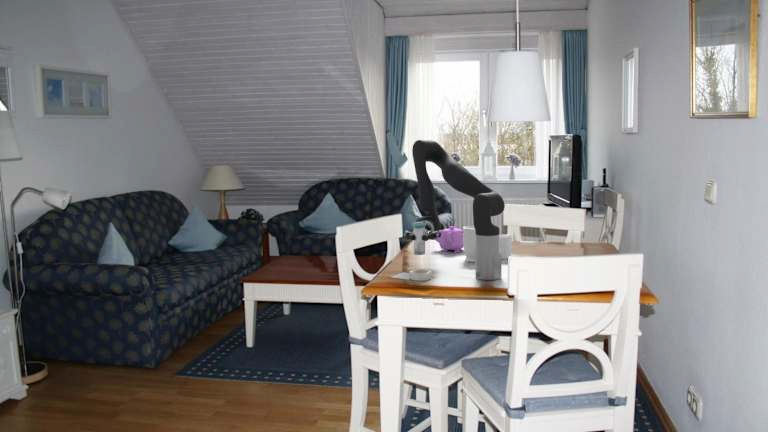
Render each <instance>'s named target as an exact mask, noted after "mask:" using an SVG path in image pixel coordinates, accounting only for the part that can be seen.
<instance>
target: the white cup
mask: <svg viewBox="0 0 768 432" xmlns="http://www.w3.org/2000/svg"><path fill="white" fill-rule="evenodd" d="M512 249H513V235H512V234H504V233H503V234H501V233H500V234H499V253H501V260H507V259H506V258H508V257H509V256H511V257H512Z"/></svg>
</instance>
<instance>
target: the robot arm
mask: <svg viewBox="0 0 768 432" xmlns="http://www.w3.org/2000/svg"><path fill="white" fill-rule="evenodd" d="M411 151H412V159H413V165H414V171H415V175H416V179H417V187H418V206H419V207H418V208H419V210H420V211H422V212H429V213H430V215H429V216H428V215H427V216H419V217H417V219H416V221H415V222H426V226H425V235H424V241H425V242H427V241H429V240H430V239H431V241H432V240H434V239H436V238H438V237H439V235H440V233H439V230H441V227H442V224H441V220H440V217H439V215H438V214H439V213H438V210H437V204H436V203H437V201H436V189H435V185H434V183H433V182H432V180H431V178H430V175H429V174H428V171H427V162H429V163H432V164H435V165H436V166H437V167H439V168H440V170H441V175H442V177H443V180H444V181H445V182H446V183H447V184H448V185H449V186H450V187H452V189H454V190H455V191H457V192H459V193H462V194H463V195H467V196H470V197H472V198H473V202H472V221H473V223H472V224H473V226H474V228H475V232H476V262H475V279H478V280H482V281H483V280H487V281H492V280H493V281H495V280H498V279H501V278H502V259H501V253H499V235H500V227H499V226H498V225H495V224H493V223H492V222H493V221H492V217H497V216H500V215H501V214H502V213H503V212H504V211H505V207H506V206H505V202H504V199H503V197H502V195H501V194H499V192H496V191H495V190H493V189H492V188H491V187H489V186H487V185H486V184H485V183H483V182H482V181H481V180H480V179H478V178H477V177H476V176H475V175H474V174H472V173H471V172H470V171H469V170H468V169H466V168H465V166H463V164H460V163H459V162H458V161H457V160H456V159H455V158H454V157H452V155H450V154H449V153H448V152H447V151H446V149H444V147H442V145H441V144H440V143H438V142H437V141H435V140H432V139H417V140H416V141H414V142H413V145H412V150H411ZM404 238H405V239H407V240H411V242H414V229H413V230H411V231H410V230H407V229H406V230H404ZM439 238H440V237H439Z"/></svg>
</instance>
